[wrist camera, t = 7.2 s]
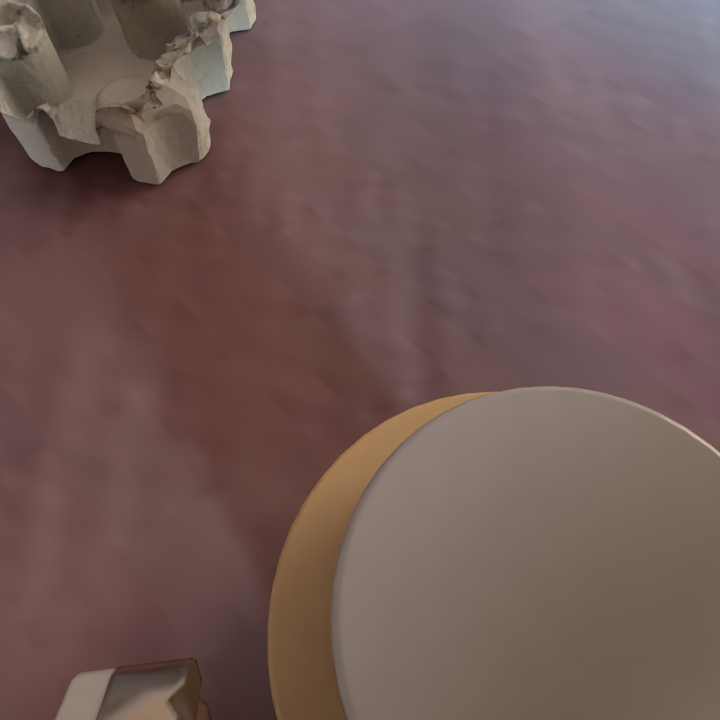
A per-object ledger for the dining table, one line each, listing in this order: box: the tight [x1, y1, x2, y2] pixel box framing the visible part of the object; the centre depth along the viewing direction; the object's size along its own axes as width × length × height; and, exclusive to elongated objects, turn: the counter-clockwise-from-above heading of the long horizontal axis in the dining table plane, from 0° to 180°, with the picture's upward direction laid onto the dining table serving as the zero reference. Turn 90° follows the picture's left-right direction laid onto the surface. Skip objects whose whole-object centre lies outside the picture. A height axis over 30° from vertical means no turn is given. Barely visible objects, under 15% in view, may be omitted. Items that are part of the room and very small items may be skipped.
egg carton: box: [0, 0, 256, 184], centre depth 21 cm, size 11×8×4 cm
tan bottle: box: [267, 386, 720, 720], centre depth 10 cm, size 6×6×11 cm
